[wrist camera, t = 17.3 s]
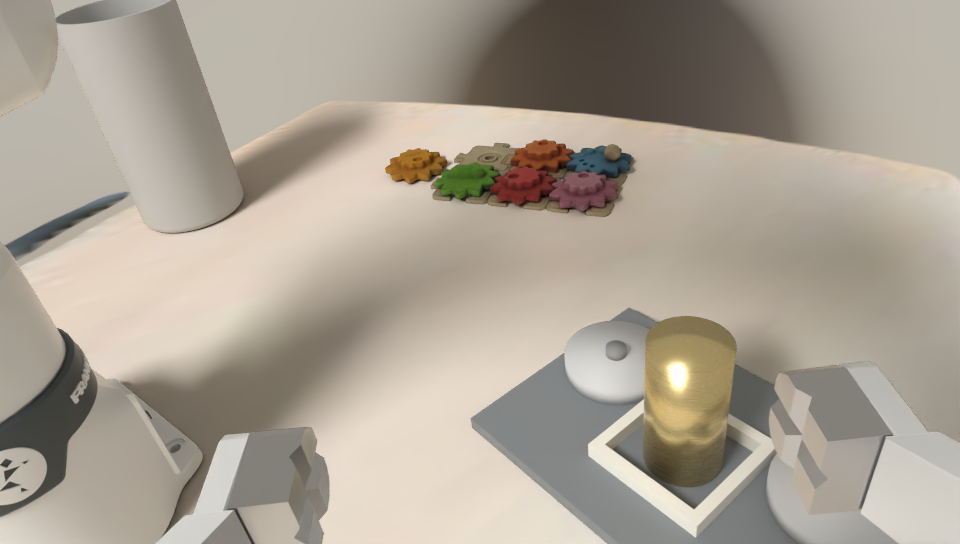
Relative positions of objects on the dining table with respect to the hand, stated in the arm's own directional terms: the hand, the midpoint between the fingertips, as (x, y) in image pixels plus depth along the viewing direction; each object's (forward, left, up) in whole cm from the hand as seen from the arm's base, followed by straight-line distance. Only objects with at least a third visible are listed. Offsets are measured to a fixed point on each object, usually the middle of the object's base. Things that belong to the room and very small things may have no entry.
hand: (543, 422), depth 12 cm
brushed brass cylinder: (-11, +21, -29) cm, 38 cm away
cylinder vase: (-78, +11, -30) cm, 85 cm away
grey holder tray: (-11, +22, -30) cm, 39 cm away
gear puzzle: (-54, +42, -31) cm, 75 cm away
